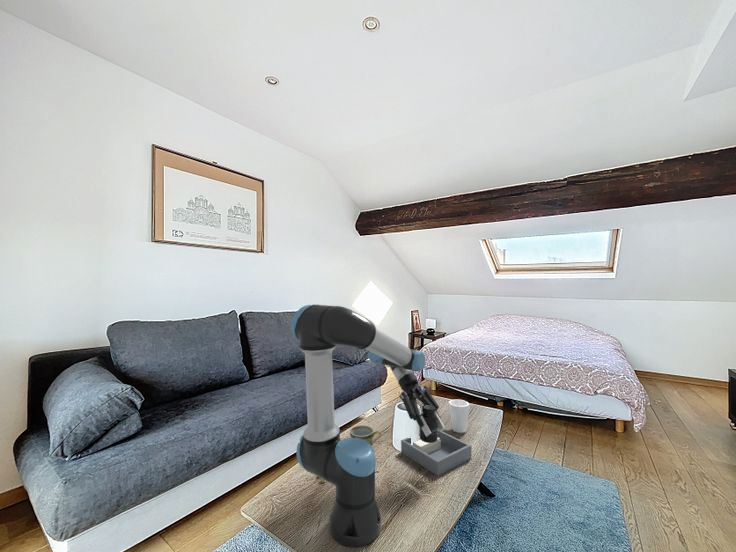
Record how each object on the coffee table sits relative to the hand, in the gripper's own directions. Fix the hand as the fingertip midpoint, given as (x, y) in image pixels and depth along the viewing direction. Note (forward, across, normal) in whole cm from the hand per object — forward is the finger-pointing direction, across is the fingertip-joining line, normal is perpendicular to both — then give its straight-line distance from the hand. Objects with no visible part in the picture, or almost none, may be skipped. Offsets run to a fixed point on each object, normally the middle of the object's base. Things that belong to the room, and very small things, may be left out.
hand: (435, 431), depth 117 cm
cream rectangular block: (+1, -10, -21) cm, 23 cm away
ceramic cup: (-8, +12, -32) cm, 35 cm away
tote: (+5, -10, -18) cm, 21 cm away
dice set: (-5, +33, -30) cm, 45 cm away
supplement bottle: (+1, 0, -6) cm, 6 cm away
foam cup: (-1, -38, -25) cm, 46 cm away
